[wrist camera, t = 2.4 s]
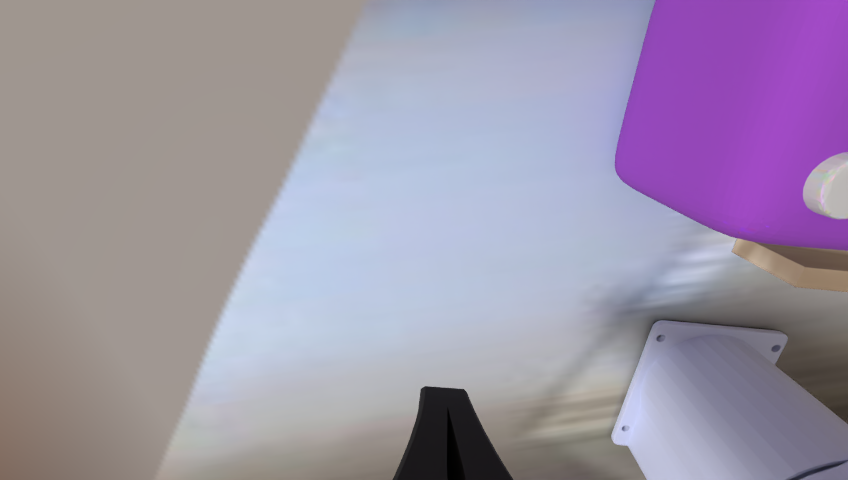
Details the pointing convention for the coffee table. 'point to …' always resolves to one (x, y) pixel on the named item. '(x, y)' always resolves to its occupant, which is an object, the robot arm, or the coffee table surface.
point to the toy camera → (744, 118)
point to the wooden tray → (799, 264)
